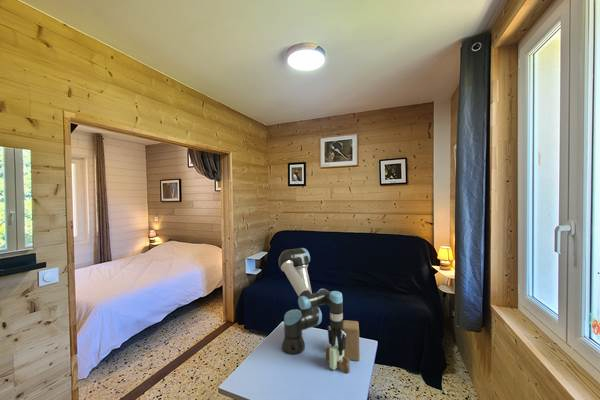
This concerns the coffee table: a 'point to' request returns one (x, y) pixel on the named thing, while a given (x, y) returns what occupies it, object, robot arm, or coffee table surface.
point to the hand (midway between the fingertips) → (337, 358)
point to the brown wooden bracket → (340, 362)
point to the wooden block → (351, 339)
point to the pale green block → (334, 356)
